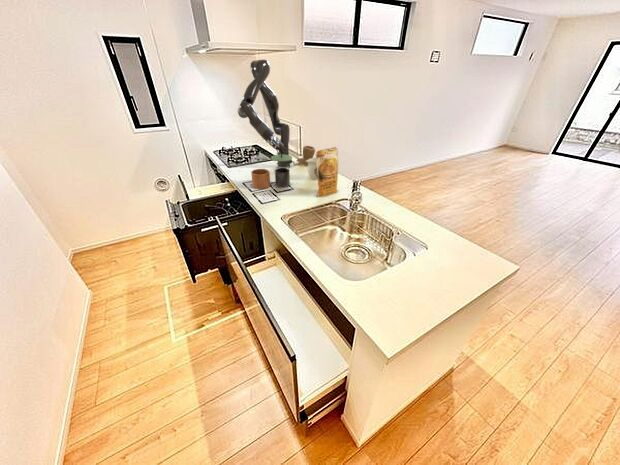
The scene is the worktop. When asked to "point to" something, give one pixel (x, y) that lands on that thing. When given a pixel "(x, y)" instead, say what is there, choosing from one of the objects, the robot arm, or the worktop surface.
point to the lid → (281, 156)
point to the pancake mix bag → (327, 171)
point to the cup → (282, 177)
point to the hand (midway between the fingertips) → (284, 152)
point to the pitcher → (312, 168)
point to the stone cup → (306, 155)
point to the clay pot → (260, 178)
